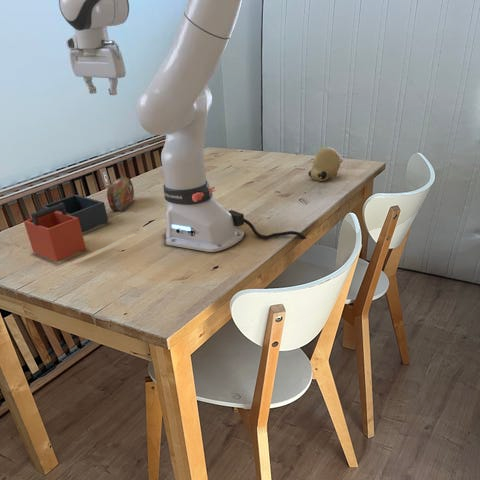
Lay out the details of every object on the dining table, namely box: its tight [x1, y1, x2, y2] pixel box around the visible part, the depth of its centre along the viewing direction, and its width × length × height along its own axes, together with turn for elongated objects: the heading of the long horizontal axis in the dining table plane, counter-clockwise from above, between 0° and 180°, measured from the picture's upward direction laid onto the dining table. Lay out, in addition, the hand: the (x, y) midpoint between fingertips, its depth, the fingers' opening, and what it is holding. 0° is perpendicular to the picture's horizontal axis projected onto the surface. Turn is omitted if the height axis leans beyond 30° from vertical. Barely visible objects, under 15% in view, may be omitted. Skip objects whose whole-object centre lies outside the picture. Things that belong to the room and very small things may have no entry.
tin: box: [106, 176, 135, 212], centre depth 156 cm, size 15×3×8 cm, turn 168°
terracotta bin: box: [23, 203, 87, 263], centre depth 127 cm, size 11×9×12 cm
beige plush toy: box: [307, 146, 343, 182], centre depth 169 cm, size 10×12×11 cm
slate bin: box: [41, 194, 109, 233], centre depth 144 cm, size 14×12×7 cm
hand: (103, 94), depth 144 cm, fingers open, 8 cm apart
